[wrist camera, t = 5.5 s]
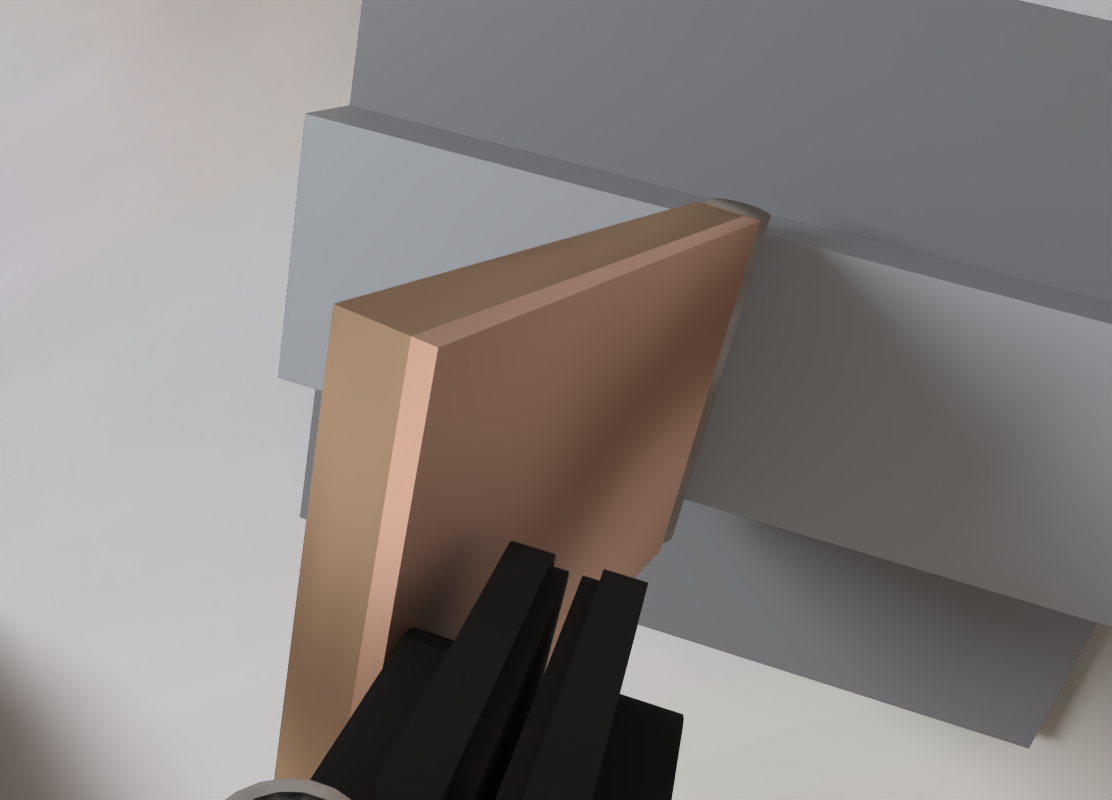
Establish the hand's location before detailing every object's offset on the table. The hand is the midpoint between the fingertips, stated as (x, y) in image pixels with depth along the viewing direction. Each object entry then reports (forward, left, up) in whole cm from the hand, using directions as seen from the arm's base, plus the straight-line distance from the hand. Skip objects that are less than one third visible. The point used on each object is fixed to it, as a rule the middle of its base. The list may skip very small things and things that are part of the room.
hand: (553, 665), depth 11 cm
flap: (-1, 0, -4) cm, 4 cm away
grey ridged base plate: (-1, +2, -13) cm, 13 cm away
